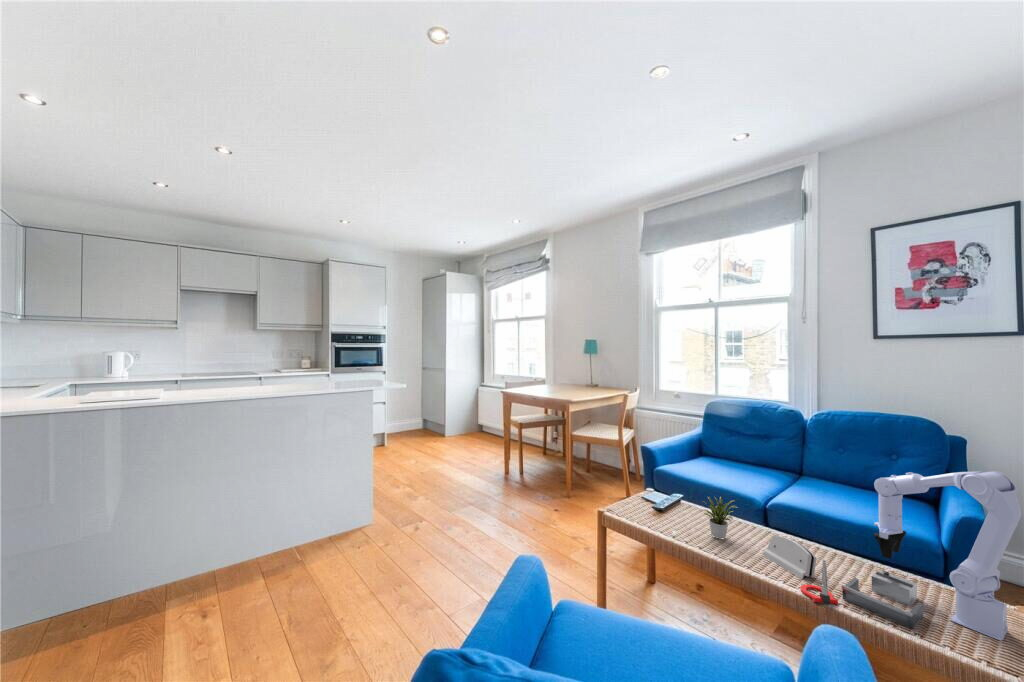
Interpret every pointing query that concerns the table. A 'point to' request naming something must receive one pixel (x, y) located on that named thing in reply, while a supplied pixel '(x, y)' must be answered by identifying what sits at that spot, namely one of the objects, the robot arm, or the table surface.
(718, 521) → the house plant
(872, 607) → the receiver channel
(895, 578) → the block
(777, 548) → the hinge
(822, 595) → the red handled scissors
